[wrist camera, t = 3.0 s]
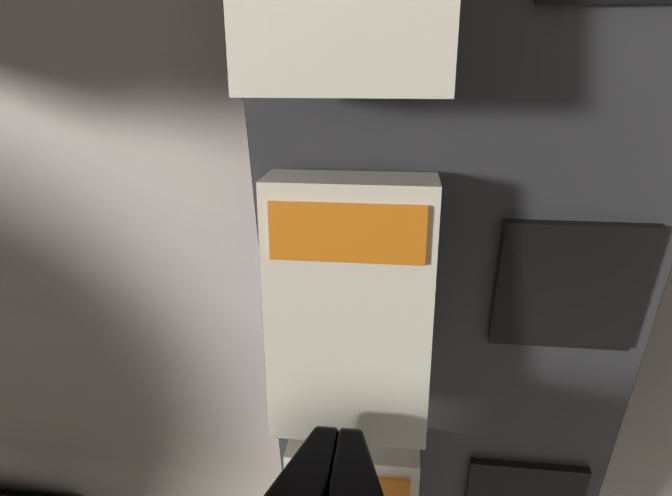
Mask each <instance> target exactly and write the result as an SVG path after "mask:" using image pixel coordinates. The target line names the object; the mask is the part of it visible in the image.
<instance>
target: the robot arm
mask: <svg viewBox="0 0 672 496" xmlns="http://www.w3.org/2000/svg"><path fill="white" fill-rule="evenodd" d="M0 496H61V495H51V494H41V493H30V492H20V491H10V490H0ZM264 496H384V494H383V491H382V488H381V485H380V482H379V479H378V476H377V473H376V470H375V467H374V464H373V461H372V458H371V455H370V452H369V449H368V446H367V443H366V440H365V437H364V434H363V432H362V430H360V429H354V428H341V429H340V430H338V429H337V428H336V427H328V426H317V427H315V428H314V429H313V430H312V431H311V433H310V434H309V436H308V437H307V438H306V440H305V441H304V442H303V444H302V445H301V446H300V448H299V449H298V450H297V452H296V453H295V454H294V456H293V457H292V458H291V460H290V461H289V462H288V464H287V465H286V466H285V468H284V469H283V470H282V472H281V473H280V475H279V476H278V477H277V479H276V480H275V481H274V483H273V484H272V485H271V487H270V488H269V489H268V491H267V492H266V493H265V495H264Z"/></svg>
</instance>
